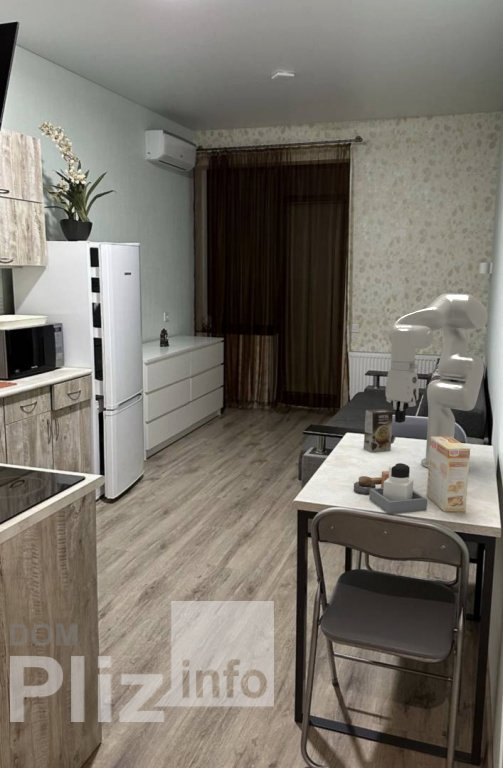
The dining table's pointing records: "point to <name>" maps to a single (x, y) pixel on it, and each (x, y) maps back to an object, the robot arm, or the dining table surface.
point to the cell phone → (392, 438)
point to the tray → (397, 502)
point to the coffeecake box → (448, 473)
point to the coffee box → (378, 430)
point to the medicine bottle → (398, 483)
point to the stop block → (384, 477)
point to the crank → (369, 481)
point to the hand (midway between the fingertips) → (399, 421)
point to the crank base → (362, 488)
